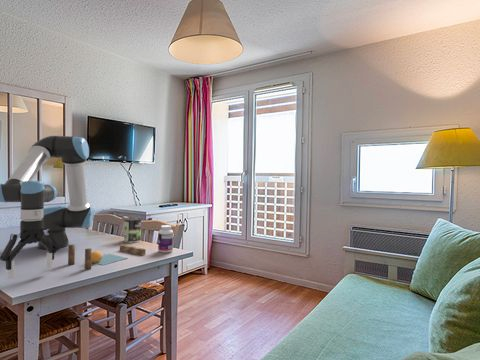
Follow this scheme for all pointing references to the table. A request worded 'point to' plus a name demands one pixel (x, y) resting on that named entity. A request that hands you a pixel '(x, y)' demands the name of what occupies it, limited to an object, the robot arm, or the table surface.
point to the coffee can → (132, 230)
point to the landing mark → (110, 259)
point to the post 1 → (71, 254)
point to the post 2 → (88, 258)
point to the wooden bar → (132, 249)
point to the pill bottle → (165, 239)
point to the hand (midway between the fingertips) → (31, 272)
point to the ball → (96, 256)
